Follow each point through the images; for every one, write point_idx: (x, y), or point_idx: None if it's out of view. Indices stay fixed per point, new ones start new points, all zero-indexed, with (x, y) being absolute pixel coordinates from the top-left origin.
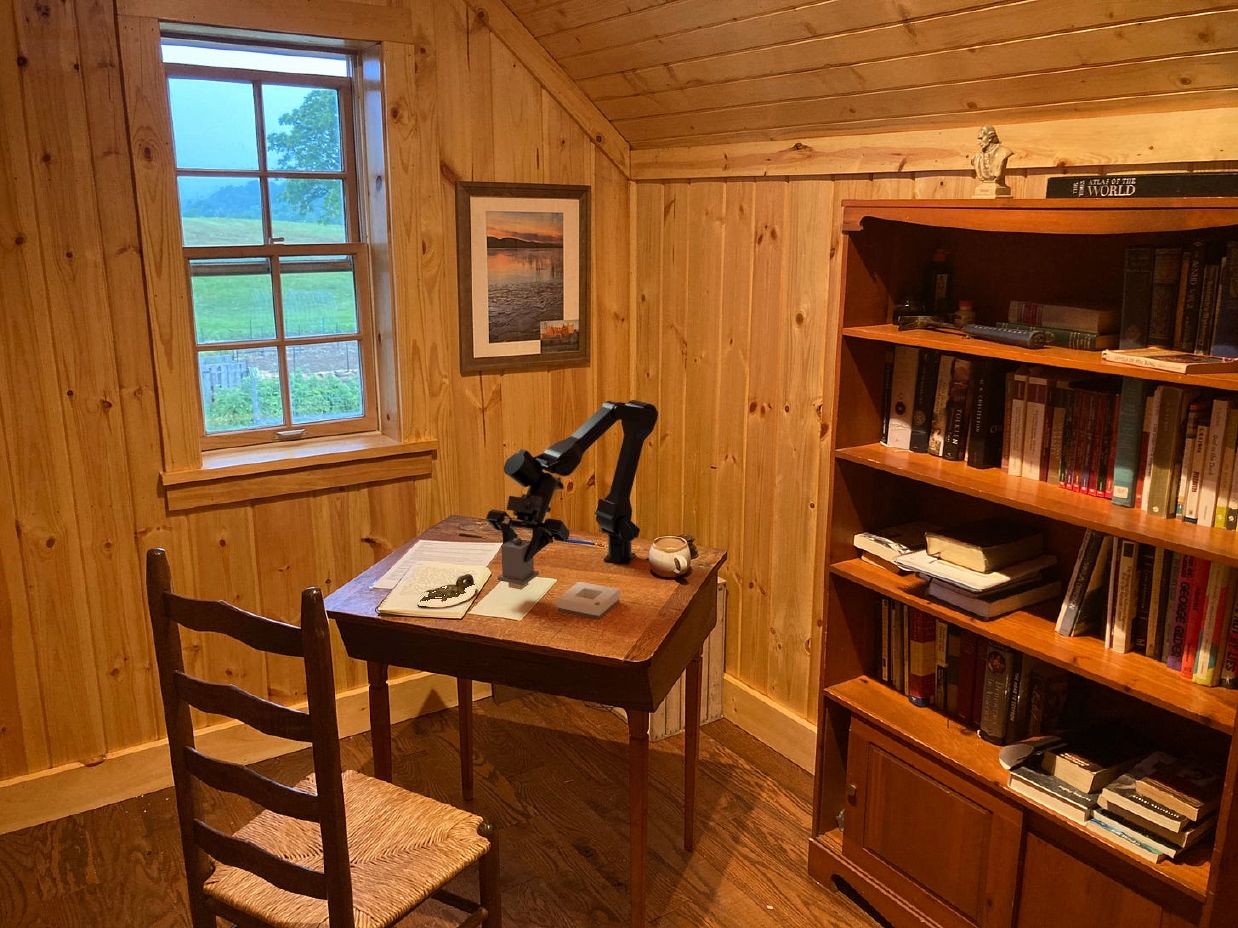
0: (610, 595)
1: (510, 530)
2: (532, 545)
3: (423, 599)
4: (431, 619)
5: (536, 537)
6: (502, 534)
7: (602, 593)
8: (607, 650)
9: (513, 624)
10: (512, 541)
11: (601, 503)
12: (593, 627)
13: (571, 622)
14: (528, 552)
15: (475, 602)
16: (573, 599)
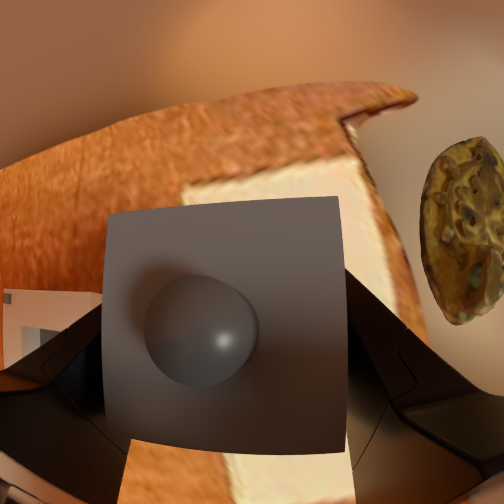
0: (5, 364)
1: (402, 482)
2: (65, 336)
3: (485, 145)
4: (401, 95)
5: (6, 378)
6: (463, 376)
7: None
8: (4, 181)
9: (188, 160)
10: (296, 358)
11: None
12: (28, 249)
13: (66, 248)
14: None
15: (388, 229)
16: (53, 303)
